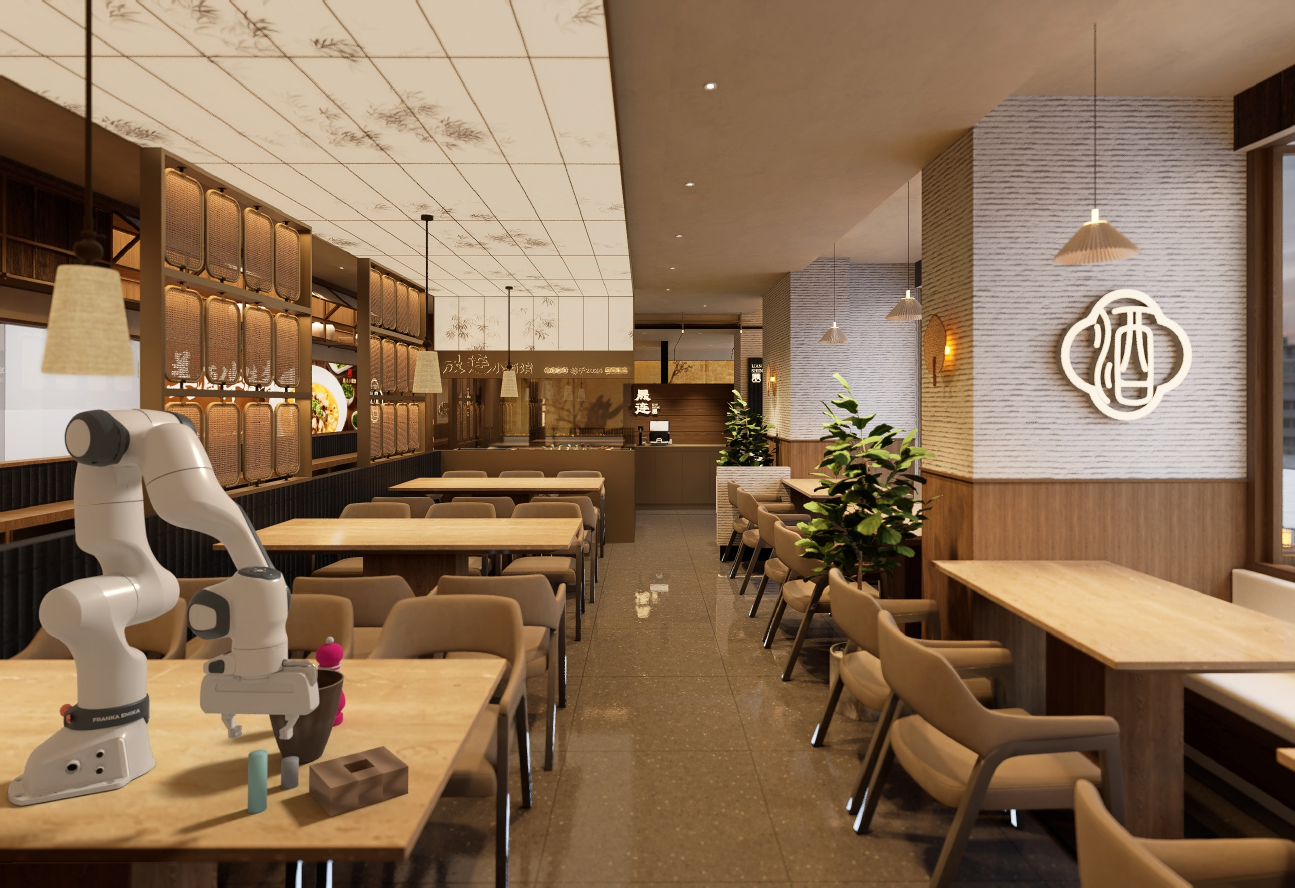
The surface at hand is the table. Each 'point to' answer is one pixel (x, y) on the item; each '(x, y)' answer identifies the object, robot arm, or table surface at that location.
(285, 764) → the charcoal dowel
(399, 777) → the walnut block
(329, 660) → the pepper mill
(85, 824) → the table surface
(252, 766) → the teal dowel
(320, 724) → the plant pot
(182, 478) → the robot arm
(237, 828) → the table surface
